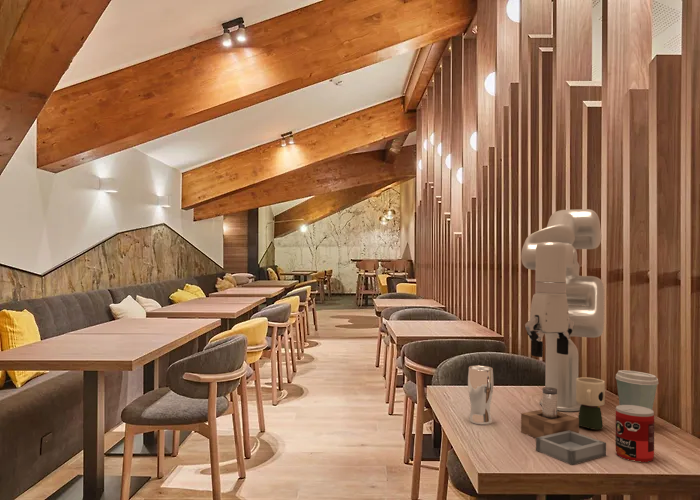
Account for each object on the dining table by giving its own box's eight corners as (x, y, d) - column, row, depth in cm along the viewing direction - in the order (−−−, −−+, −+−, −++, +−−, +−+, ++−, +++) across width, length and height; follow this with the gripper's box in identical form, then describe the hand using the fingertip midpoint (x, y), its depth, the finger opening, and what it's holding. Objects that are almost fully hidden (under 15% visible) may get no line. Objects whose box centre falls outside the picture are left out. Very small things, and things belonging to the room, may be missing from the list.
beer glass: (493, 426, 143) (494, 371, 143) (467, 424, 144) (468, 369, 144) (492, 418, 150) (492, 366, 150) (467, 416, 151) (467, 364, 151)
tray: (569, 442, 131) (569, 430, 131) (606, 455, 122) (606, 442, 122) (535, 450, 125) (536, 437, 125) (572, 464, 116) (572, 451, 116)
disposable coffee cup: (622, 417, 152) (622, 366, 152) (664, 426, 144) (664, 372, 145) (609, 425, 145) (609, 371, 145) (652, 435, 137) (652, 377, 137)
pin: (548, 432, 139) (548, 386, 139) (560, 436, 135) (560, 389, 136) (539, 434, 137) (539, 388, 137) (550, 438, 134) (550, 391, 134)
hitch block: (546, 426, 143) (547, 408, 143) (578, 438, 134) (579, 418, 134) (521, 432, 138) (521, 413, 138) (552, 444, 129) (552, 423, 129)
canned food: (608, 450, 125) (608, 404, 126) (640, 450, 126) (640, 404, 126) (628, 463, 118) (628, 414, 118) (661, 462, 118) (661, 413, 119)
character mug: (603, 436, 136) (603, 385, 136) (573, 431, 140) (573, 382, 140) (606, 424, 146) (606, 377, 146) (578, 420, 149) (578, 374, 149)
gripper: (560, 288, 144) (560, 351, 144) (515, 288, 136) (515, 355, 135) (584, 289, 138) (584, 355, 137) (539, 290, 129) (538, 359, 129)
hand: (549, 355), depth 136 cm, fingers open, 9 cm apart
